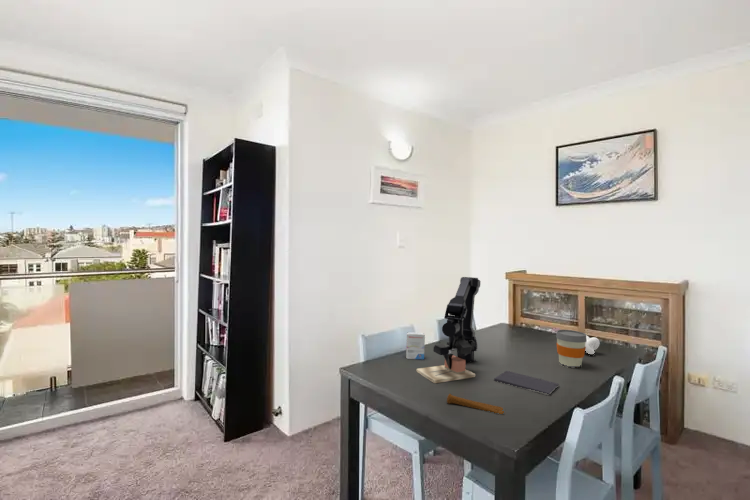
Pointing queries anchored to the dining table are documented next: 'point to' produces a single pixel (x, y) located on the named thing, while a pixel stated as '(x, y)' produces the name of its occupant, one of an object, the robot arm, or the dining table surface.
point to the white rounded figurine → (591, 344)
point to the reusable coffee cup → (570, 347)
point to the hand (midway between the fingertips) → (454, 367)
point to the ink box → (415, 345)
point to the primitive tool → (474, 404)
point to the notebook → (526, 382)
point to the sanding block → (456, 365)
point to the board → (443, 374)
